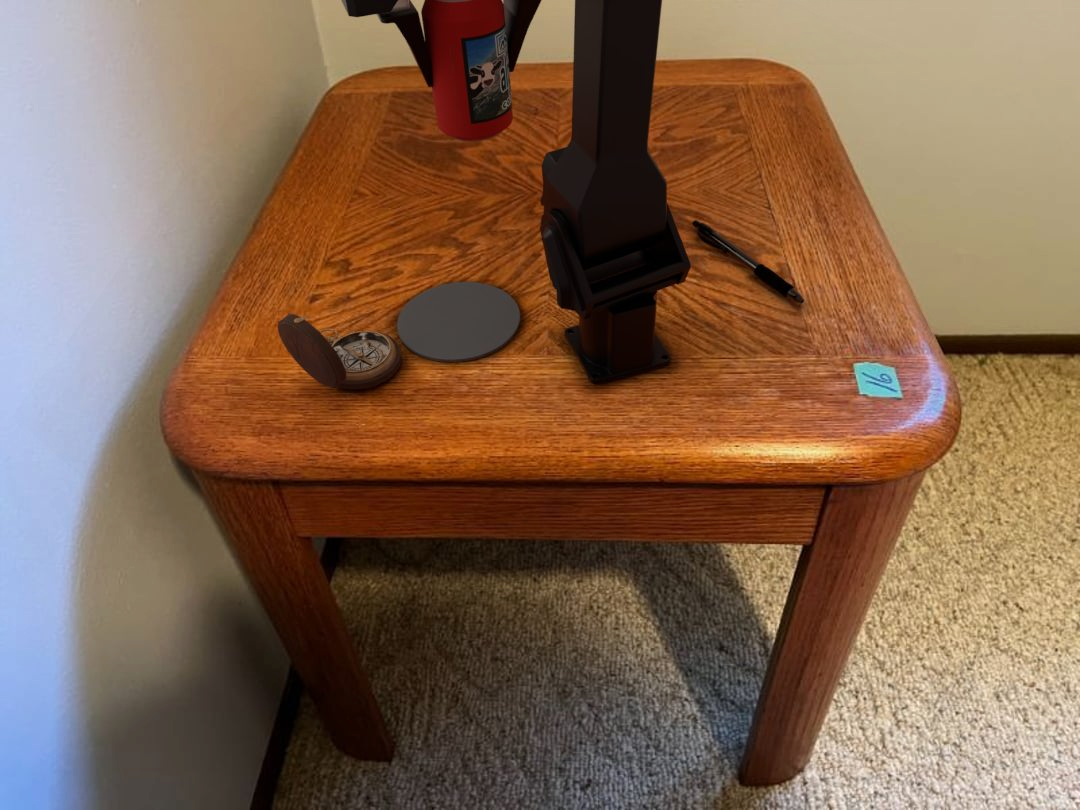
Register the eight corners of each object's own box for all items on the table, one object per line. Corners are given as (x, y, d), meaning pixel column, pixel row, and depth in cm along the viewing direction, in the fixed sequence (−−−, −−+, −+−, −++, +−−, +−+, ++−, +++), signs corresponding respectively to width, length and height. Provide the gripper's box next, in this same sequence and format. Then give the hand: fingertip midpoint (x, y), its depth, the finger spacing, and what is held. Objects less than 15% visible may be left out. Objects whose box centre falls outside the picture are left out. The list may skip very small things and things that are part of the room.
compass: (419, 358, 66) (405, 282, 61) (342, 416, 62) (320, 340, 57) (351, 320, 70) (332, 245, 65) (274, 372, 66) (247, 297, 61)
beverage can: (503, 148, 73) (490, -1, 65) (428, 145, 74) (406, -1, 66) (521, 115, 78) (511, -28, 70) (450, 112, 79) (432, -28, 71)
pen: (683, 231, 77) (684, 220, 76) (698, 225, 77) (699, 214, 77) (790, 312, 68) (793, 300, 67) (806, 304, 69) (809, 293, 68)
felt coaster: (536, 343, 67) (536, 340, 67) (412, 375, 65) (411, 372, 65) (500, 273, 74) (499, 271, 73) (386, 300, 72) (385, 297, 71)
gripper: (534, -169, 70) (543, 28, 80) (305, -139, 66) (347, 63, 77) (581, -142, 62) (585, 71, 72) (324, -107, 58) (368, 112, 69)
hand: (470, 77), depth 73 cm, fingers closed on beverage can, 7 cm apart
